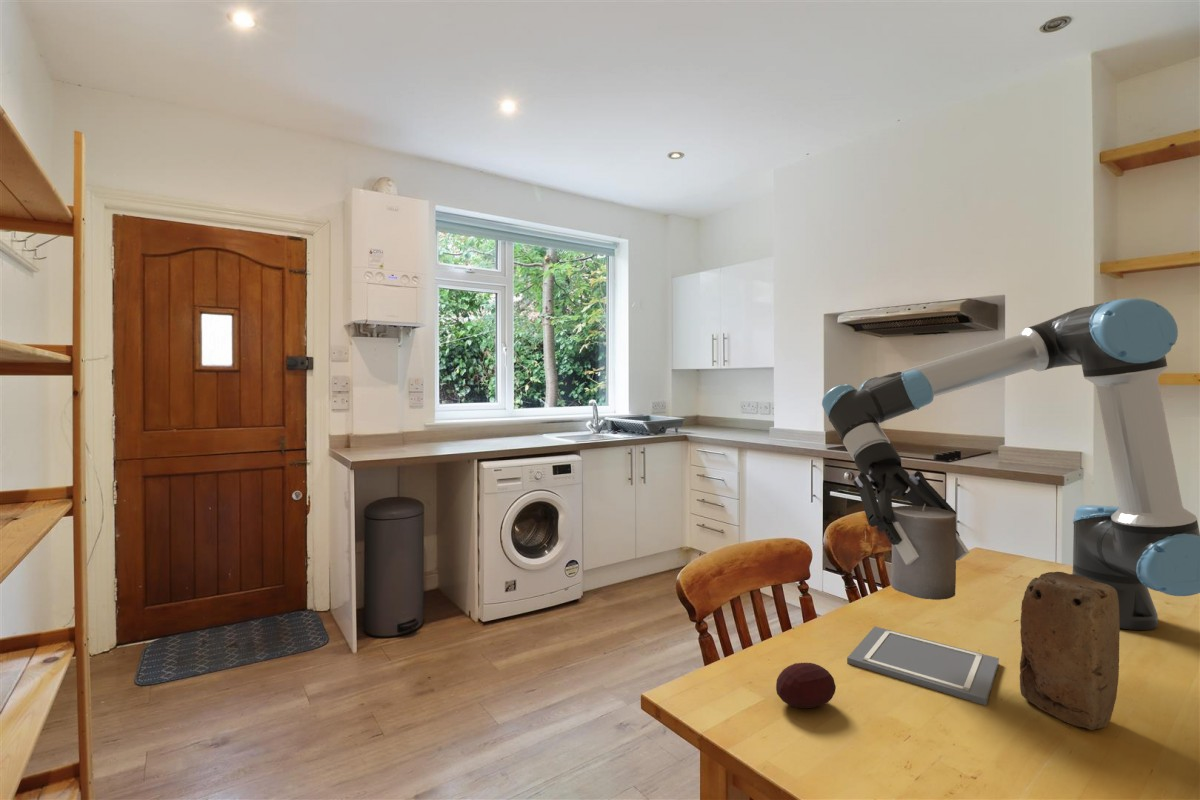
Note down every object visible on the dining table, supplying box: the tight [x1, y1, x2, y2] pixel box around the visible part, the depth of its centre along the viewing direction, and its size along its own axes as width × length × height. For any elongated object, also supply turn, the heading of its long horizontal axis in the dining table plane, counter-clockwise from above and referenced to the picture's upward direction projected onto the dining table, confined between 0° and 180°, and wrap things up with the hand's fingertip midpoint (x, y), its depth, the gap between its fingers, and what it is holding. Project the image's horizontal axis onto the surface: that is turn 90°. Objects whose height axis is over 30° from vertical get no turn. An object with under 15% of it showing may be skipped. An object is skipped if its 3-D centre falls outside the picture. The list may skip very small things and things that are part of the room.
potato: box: [775, 662, 837, 709], centre depth 86 cm, size 8×9×6 cm
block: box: [1019, 571, 1121, 731], centre depth 84 cm, size 11×8×20 cm
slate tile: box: [846, 625, 1000, 706], centre depth 99 cm, size 20×17×1 cm
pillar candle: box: [890, 504, 957, 601], centre depth 99 cm, size 10×10×15 cm
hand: (937, 558), depth 96 cm, fingers closed on pillar candle, 9 cm apart
